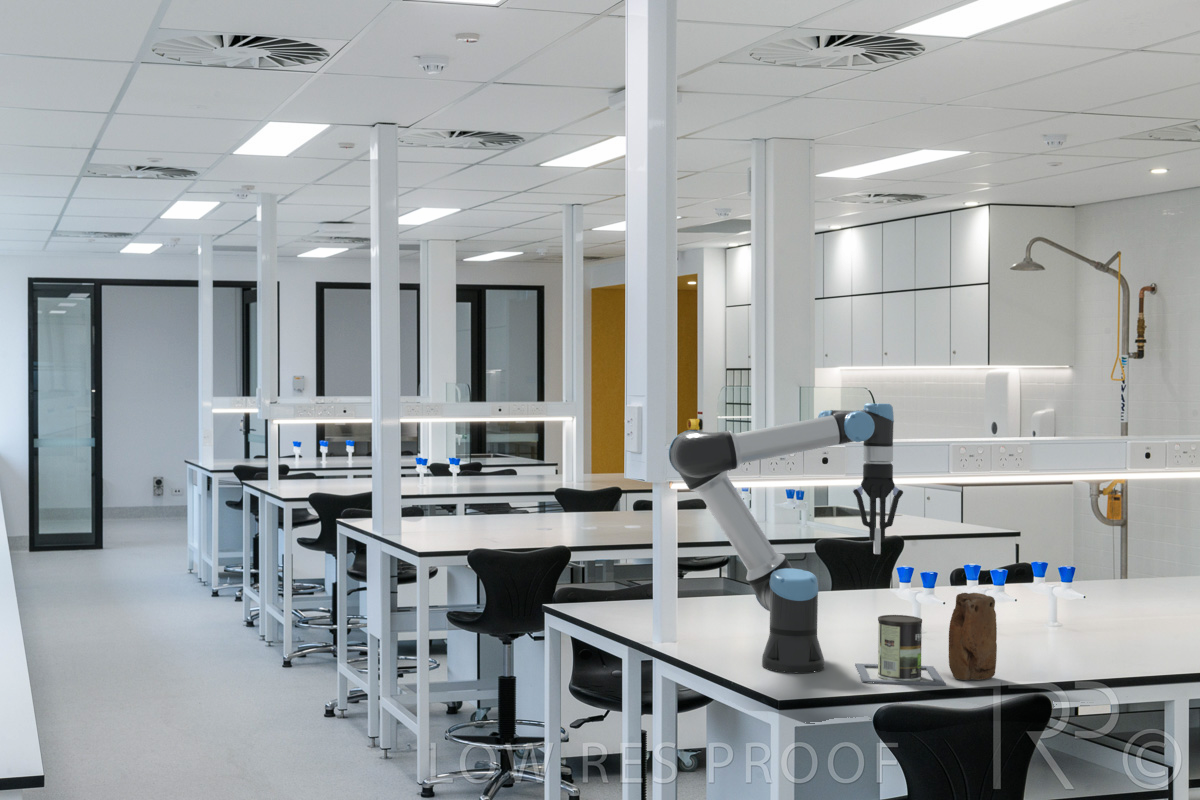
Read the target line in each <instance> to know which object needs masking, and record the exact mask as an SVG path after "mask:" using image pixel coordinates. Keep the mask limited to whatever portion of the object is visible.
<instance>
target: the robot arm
mask: <svg viewBox="0 0 1200 800" xmlns="http://www.w3.org/2000/svg"><path fill="white" fill-rule="evenodd" d="M894 422H895V420H894V407H893V405H892V404H890V403H865V404H864V405H863V410H841V409H840V410H836V409H835V410H834V409H830V410H821V411H820V412H819V413H818V417H815V418H810V419H805V420H800V421H795V422H788V423H783V424H780V425H774V426H769V427H763V428H757V429H753V430H752V429H751V430H746V431H743V432H736V433H734V432H733V431H731V430H726V431H720V432H706V431H700V430H695V429H689V430H685V431H683V432H681V433H679V434H678V435H677V436H675V437H674V438H673V439H672V440H671V443H670V445H669V449H668V460H669V463H670V465H671V467H672V468H673V469H674V470H675V471H676V472H678V474H679V475H680V477H681V478H682V480H683V482H684V483H685V484H686V486H687V488H688V489H689V491H690V492H693V493H694V492H695V493H698V494H699V495H700V498H701V499H702V501H703V502H704V503H705V505H706V507H707V508H708V510H709V511H710V513H711V515H712V516H713V518H714V519H715V521H716V523H717V524H718V526H719V528H720V529H721V531H722V532H723V534H724V535H725V537H726V538H727V540H728V542H729V543H730V545H731V546H732V548H733V549H734V551H735V552H736V554H737V555H738V557H739V559H740V561H741V562H742V563H743V565H744V566H745V568H746V570H747V573H746V577H745V580H746V581H747V583H748V584H749V586H750V587H751V588H752V590H753V591H754V596H755V597H756V598H755V599H756V600H757V602H758V603H759V605H760V606H761V607H762V608H763V609H765V610H766V611H768V612H769V634H768V639H767V641H766V645H765V647H764V650H763V653H762V656H761V657H762V658H761V666H762V667H763V668H764V667H765V669H767V668H768V669H767V670H770V669H772V670H771V671H774V670H777V671H776V672H779V671H785V672H784V673H787V672H811V673H815V672H814V671H817V672H820V670H821V671H823V670H824V669H825V658H824V655H823V652H822V651H823V650H822V648H821V645H820V641H819V637H818V610H819V609H818V606H819V603H818V601H819V599H818V597H819V595H818V594H819V584H818V583H819V581H818V577H817V576H816V575H815V574H814V573H812V572H811V571H809V570H804V569H801V568H793V566H792V565H791V563H790V561H789V560H788V559H787V557H786V555H785V554H782V553H779V552H776V551H775V549H774V547H773V546H772V544H771V542H770V541H769V539H768V538H767V536H766V535H765V533H764V531H763V530H762V529H761V527H760V525H759V524H758V522H757V521H756V519H755V518H754V516H753V514H752V513H751V511H750V509H749V508H748V507H747V505H746V503H745V502H744V500H743V498H742V497H741V495H740V494H739V492H738V490H737V489H736V487H735V485H734V484H733V482H732V481H731V479H730V478H729V476H728V471H732V470H736V469H738V468H739V466H741V464H747V463H751V462H756V461H760V460H761V461H762V460H768V459H772V458H776V457H781V456H785V455H791V454H797V453H802V452H807V451H808V452H809V451H813V450H816V449H822V448H827V447H832V446H838V445H844V444H849V443H854V442H855V443H861V442H863V461H864V463H863V465H862V468H863V469H862V470H863V471H862V480H861V482H860V483H861V484H860V485H859V486H858V487H856V488H853V489H852V492H853V494H854V496H855V497H856V500H857V505H858V509H859V513H860V519H861V523H862V525H863V526H865V527H868V529H869V533H868V534H869V535H868V536H869V540H870V541H871V542H873V554H874V555H881V552H882V551H881V550H882V547H881V542H884V541H885V540H886V529H887V528H890V527H892V526H893V523H894V520H895V517H896V513H897V508H898V504H899V501H900V500H899V499H900V498H901V497H902V496H903V494H904V491H903V490H902V489H899V488H898V487H897V486H896V484H895V482H894V479H893V478H894V475H893V474H894V465H893V463H892V462H893V461H894ZM863 491H864V492H865V494H866V495H867V497H868V498H869V519H868V517H867V513H866V509H865V505H864V501H863V497H862V495H863ZM891 492H892V496H893V498H892V501H891V506H890V508H889V513H888V516H887V520H886V502H887V497H888V496H889V495H890V493H891ZM876 499H879V527H876V503H877V500H876Z"/></svg>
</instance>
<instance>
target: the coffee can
mask: <svg viewBox="0 0 1200 800" xmlns="http://www.w3.org/2000/svg"><path fill="white" fill-rule="evenodd" d="M877 622H878V626H877V629H878V635H877V636H878V638H877V639H878V640H877V641H878V642H877V644H878V645H877V646H878V647H877V649H878V650H877V652H878V653H877V662H878V663H877V664H878V668H877V670H878V671H877V677H878V678H880V679H881V680H906V681H922V670H921V666H922V635H923V634H922V633H923V631H922V629H923V628H922V626H923V625H922V624H923V619H922V618H921V617H917V616H913V615H904V614H885V615H880V616H878V617H877Z"/></svg>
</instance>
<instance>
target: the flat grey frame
mask: <svg viewBox="0 0 1200 800" xmlns="http://www.w3.org/2000/svg"><path fill="white" fill-rule="evenodd" d="M854 666H855V669H856V668H857V669H856V671H857V670H858V671H857V673H858V672H859V673H858V675H859V674H860V676H859V678H860V677H861V678H860V679H862V680H861V682H862V681H863V682H872V683H871V684H878V683H882V685H905V686H906V685H907V686H909V685H910V686H936V687H947V683H946V682H945V680H944V679H943V678H942V676H941V674H940V673H939V672H938V671H937V669H936V668H935V666H933V665H921V671H922V670H923V671H926V672H927V671H928V672H927V673H928V674H929V676H930V677H931V679H932V680H933V681H930V680H929V681H928V680H925V681H924V680H918V681H906V680H885V679H881V678H880V679H879V678H878V679H877V678H875V679H874V678H871V677H870V675H869V673H868V670H867V669H866V667H875V668H874V669H878V663H854ZM876 667H877V668H876ZM873 682H874V683H873Z"/></svg>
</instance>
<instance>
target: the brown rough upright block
mask: <svg viewBox="0 0 1200 800" xmlns="http://www.w3.org/2000/svg"><path fill="white" fill-rule="evenodd" d="M995 605H996V600H995V597H993V596H991V595H986V594H984V593H980V592H979V593H978V592H970V593H968V592H962V593H958V594H957V595H956V597H955V608H954V609H953V610H952V615H951V617H950V620H949V621H950V622H949V627H948V665H949V670H950V672H951V674H952V677H953V678H955V679H957V680H959V681H961V680H962V681H970V680H974V681H977V680H978V681H979V680H988V679H991V678H993V677H994V676H995V675H996V668H997V649H998V647H997V645H998V644H997V637H998V636H997V629H998V628H997V613H996V610H995Z"/></svg>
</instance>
